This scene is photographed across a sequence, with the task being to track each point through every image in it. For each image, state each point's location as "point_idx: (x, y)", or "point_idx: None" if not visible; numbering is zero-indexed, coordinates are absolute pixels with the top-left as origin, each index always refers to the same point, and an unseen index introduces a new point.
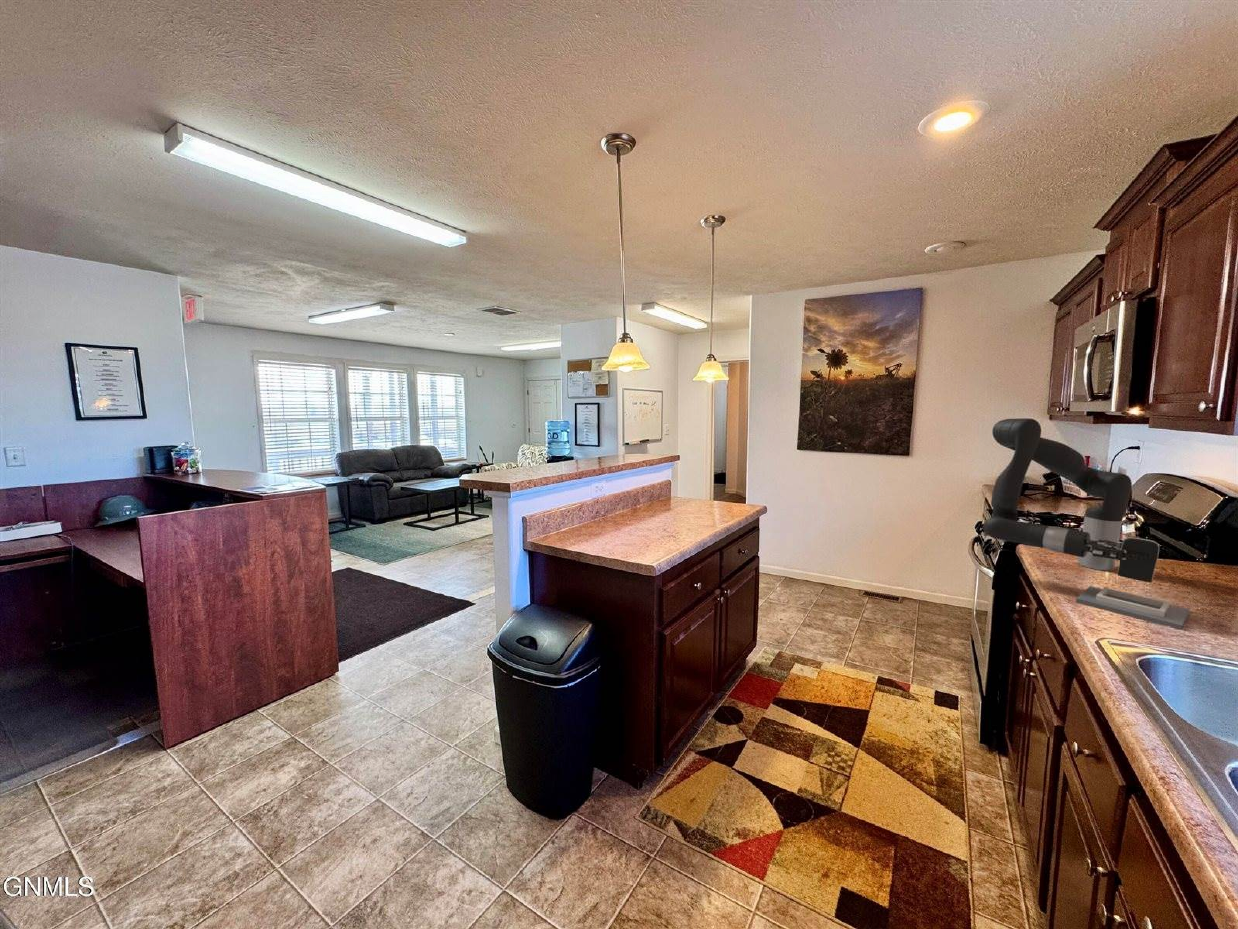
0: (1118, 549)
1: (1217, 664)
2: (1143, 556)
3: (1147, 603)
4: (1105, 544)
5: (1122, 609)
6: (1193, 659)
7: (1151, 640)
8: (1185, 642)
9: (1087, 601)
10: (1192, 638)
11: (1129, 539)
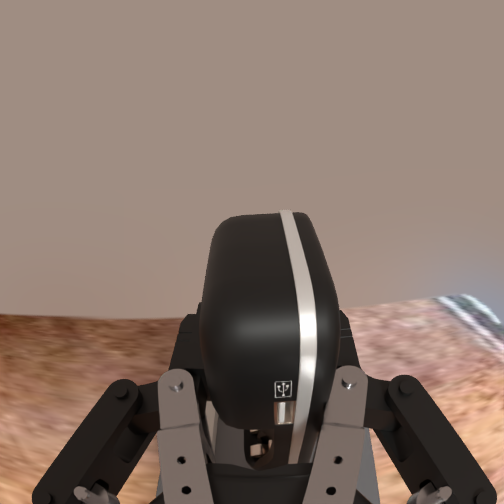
0: (364, 410)
1: (470, 300)
2: (342, 312)
3: (216, 429)
4: (348, 497)
5: (366, 460)
6: (488, 317)
7: (482, 368)
8: (426, 341)
9: None
10: (387, 341)
11: (334, 300)
